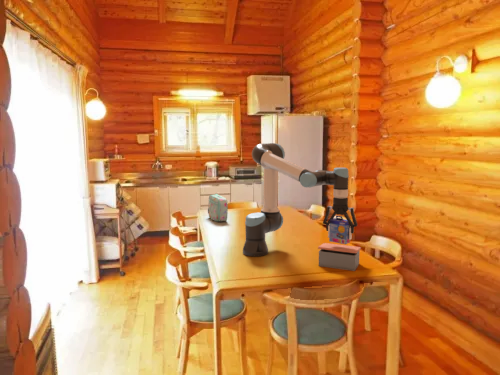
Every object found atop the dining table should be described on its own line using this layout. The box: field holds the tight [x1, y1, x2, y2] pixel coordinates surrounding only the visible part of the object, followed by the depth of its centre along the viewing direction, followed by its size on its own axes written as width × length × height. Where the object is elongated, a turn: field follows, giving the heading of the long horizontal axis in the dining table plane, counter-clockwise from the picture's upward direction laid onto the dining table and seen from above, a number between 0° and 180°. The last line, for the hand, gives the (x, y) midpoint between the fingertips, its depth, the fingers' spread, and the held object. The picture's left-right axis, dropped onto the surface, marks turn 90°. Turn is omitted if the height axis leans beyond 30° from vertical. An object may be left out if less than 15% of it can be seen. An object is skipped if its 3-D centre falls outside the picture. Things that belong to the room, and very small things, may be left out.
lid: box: [317, 242, 362, 253], centre depth 203 cm, size 20×12×1 cm, turn 64°
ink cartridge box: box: [328, 215, 351, 245], centre depth 202 cm, size 10×6×14 cm, turn 51°
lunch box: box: [207, 193, 229, 223], centre depth 318 cm, size 27×10×21 cm, turn 25°
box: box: [318, 249, 360, 272], centre depth 204 cm, size 19×12×8 cm, turn 64°
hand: (339, 238), depth 202 cm, fingers closed on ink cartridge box, 10 cm apart
